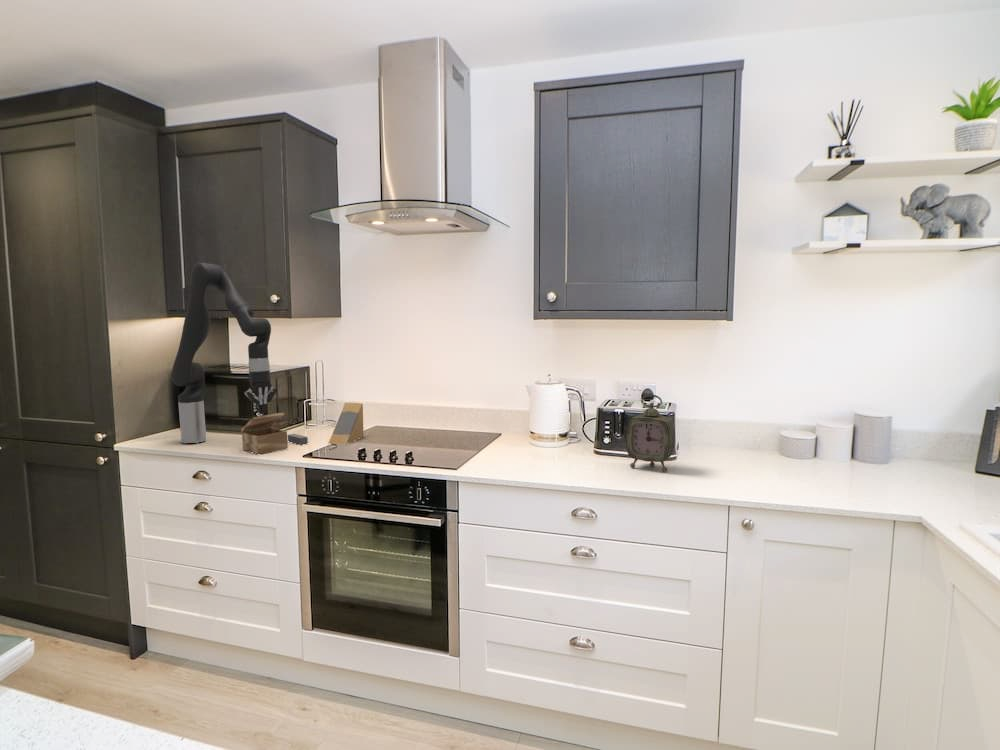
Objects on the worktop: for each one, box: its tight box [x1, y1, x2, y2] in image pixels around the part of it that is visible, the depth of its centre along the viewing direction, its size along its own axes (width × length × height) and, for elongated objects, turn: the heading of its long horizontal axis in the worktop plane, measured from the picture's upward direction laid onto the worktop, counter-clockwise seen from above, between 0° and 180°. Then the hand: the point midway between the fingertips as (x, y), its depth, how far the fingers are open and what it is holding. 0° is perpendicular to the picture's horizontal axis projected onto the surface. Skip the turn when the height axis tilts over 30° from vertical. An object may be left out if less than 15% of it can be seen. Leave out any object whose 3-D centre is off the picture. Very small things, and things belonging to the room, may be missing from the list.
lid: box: [240, 412, 285, 433], centre depth 224 cm, size 12×12×1 cm
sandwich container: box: [327, 402, 364, 445], centre depth 237 cm, size 9×15×15 cm, turn 165°
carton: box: [241, 427, 289, 455], centre depth 224 cm, size 12×12×7 cm
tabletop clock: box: [625, 394, 676, 473], centre depth 191 cm, size 14×9×25 cm, turn 59°
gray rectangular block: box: [287, 433, 309, 446], centre depth 235 cm, size 10×3×3 cm, turn 50°
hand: (262, 413), depth 223 cm, fingers closed
